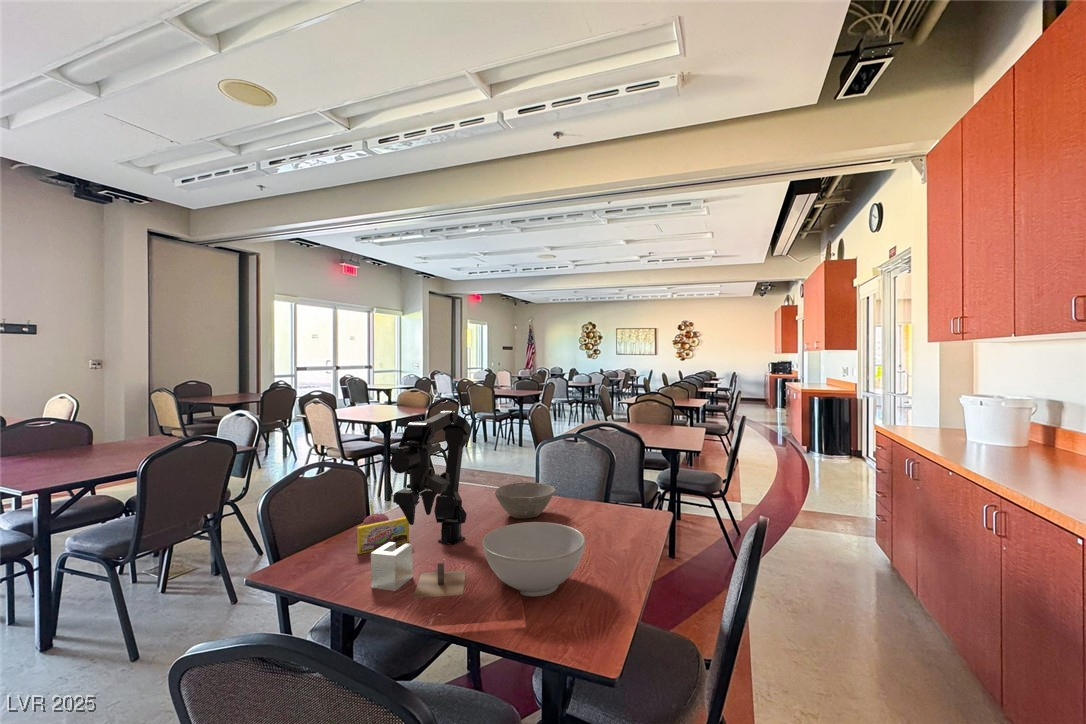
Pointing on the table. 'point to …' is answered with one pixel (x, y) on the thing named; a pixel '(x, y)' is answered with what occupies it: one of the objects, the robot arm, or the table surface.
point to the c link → (391, 566)
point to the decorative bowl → (534, 555)
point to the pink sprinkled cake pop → (374, 517)
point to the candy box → (382, 534)
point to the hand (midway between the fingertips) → (420, 519)
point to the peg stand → (440, 583)
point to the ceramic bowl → (524, 498)
